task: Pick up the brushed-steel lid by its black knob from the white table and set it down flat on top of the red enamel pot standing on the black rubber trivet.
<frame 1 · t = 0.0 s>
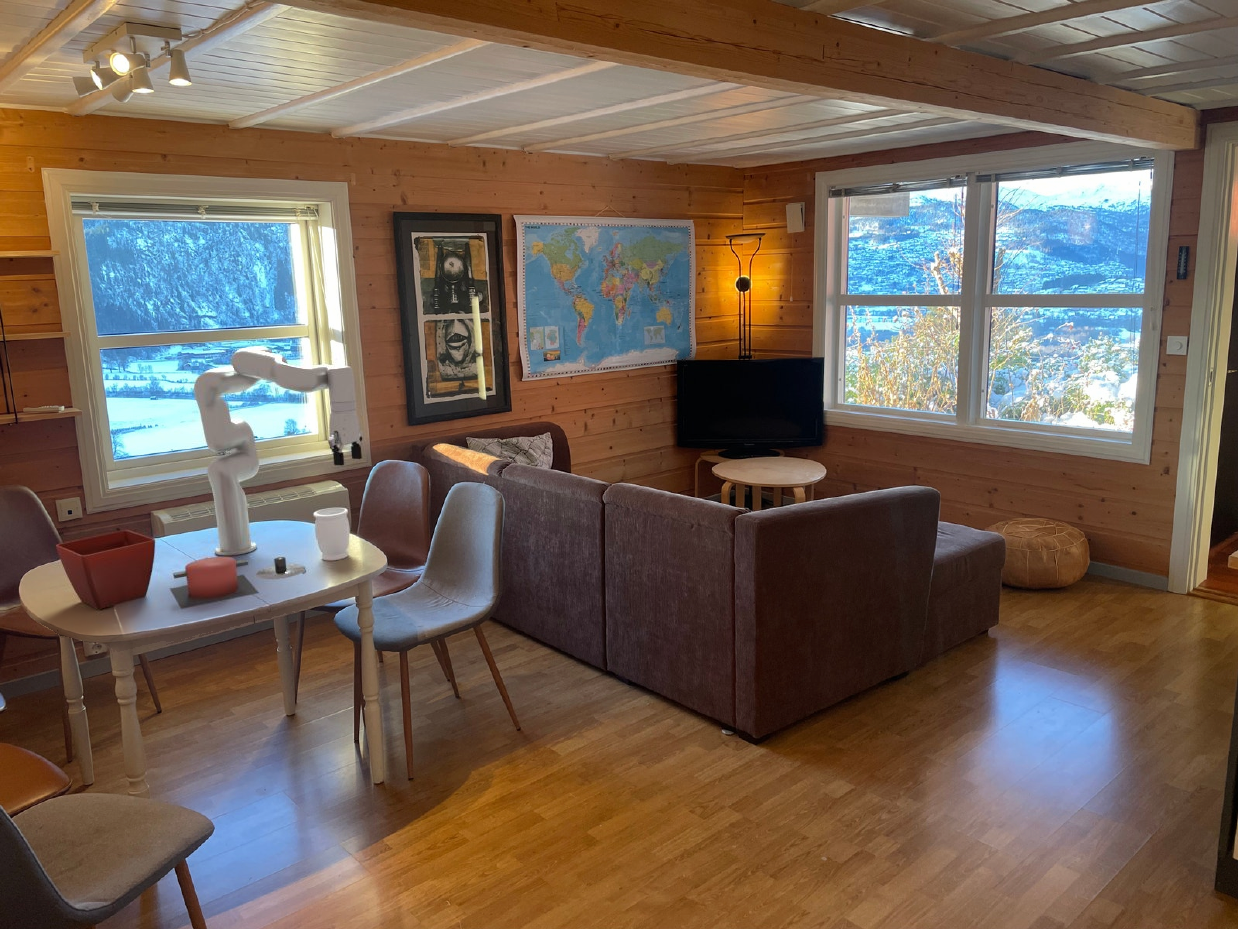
hand: (348, 461, 278), 31 cm above the table, tool pointing down, fingers open, 9 cm apart
jar: (335, 557, 287), on the table
plant pot: (114, 600, 254), on the table
lid: (281, 574, 273), on the table
trivet: (214, 592, 257), on the table
pot: (213, 590, 257), resting on trivet
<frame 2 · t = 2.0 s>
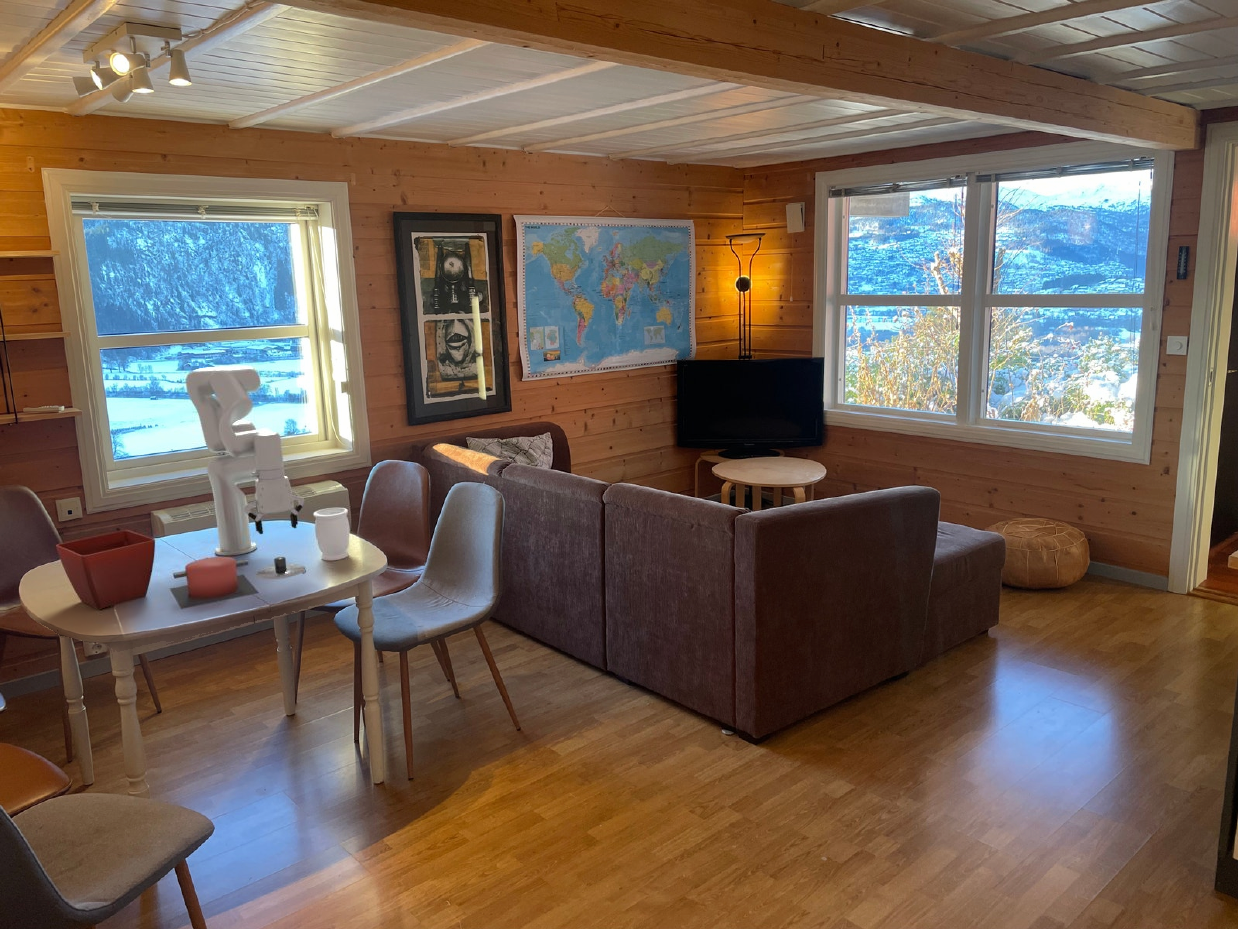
hand: (277, 530, 269), 14 cm above the table, tool pointing down, fingers open, 9 cm apart
nothing on the table moved.
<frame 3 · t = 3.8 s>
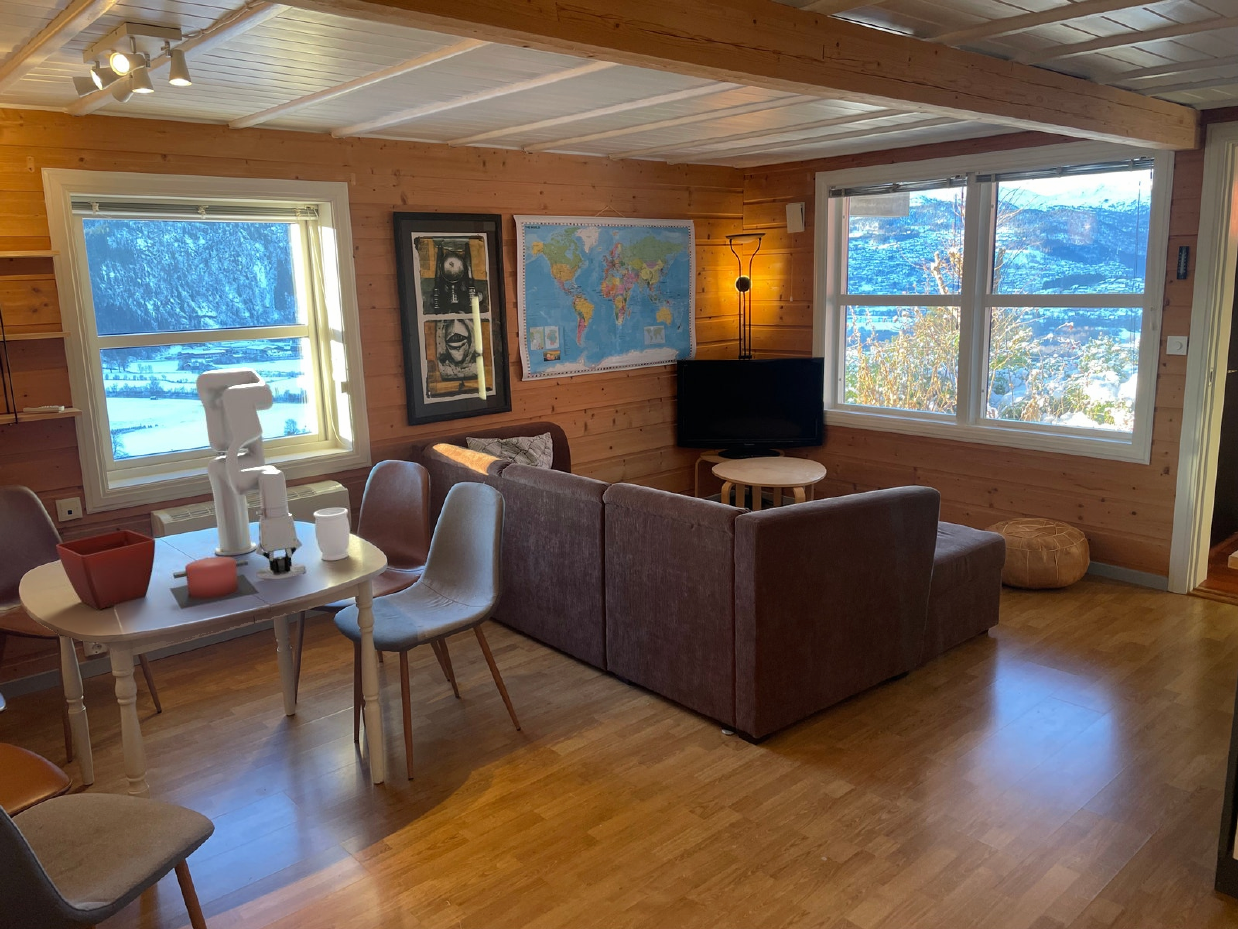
hand: (281, 570, 272), 1 cm above the table, tool pointing down, fingers closed on lid, 3 cm apart
lid: (281, 573, 273), on the table, touching gripper
everything else where it was.
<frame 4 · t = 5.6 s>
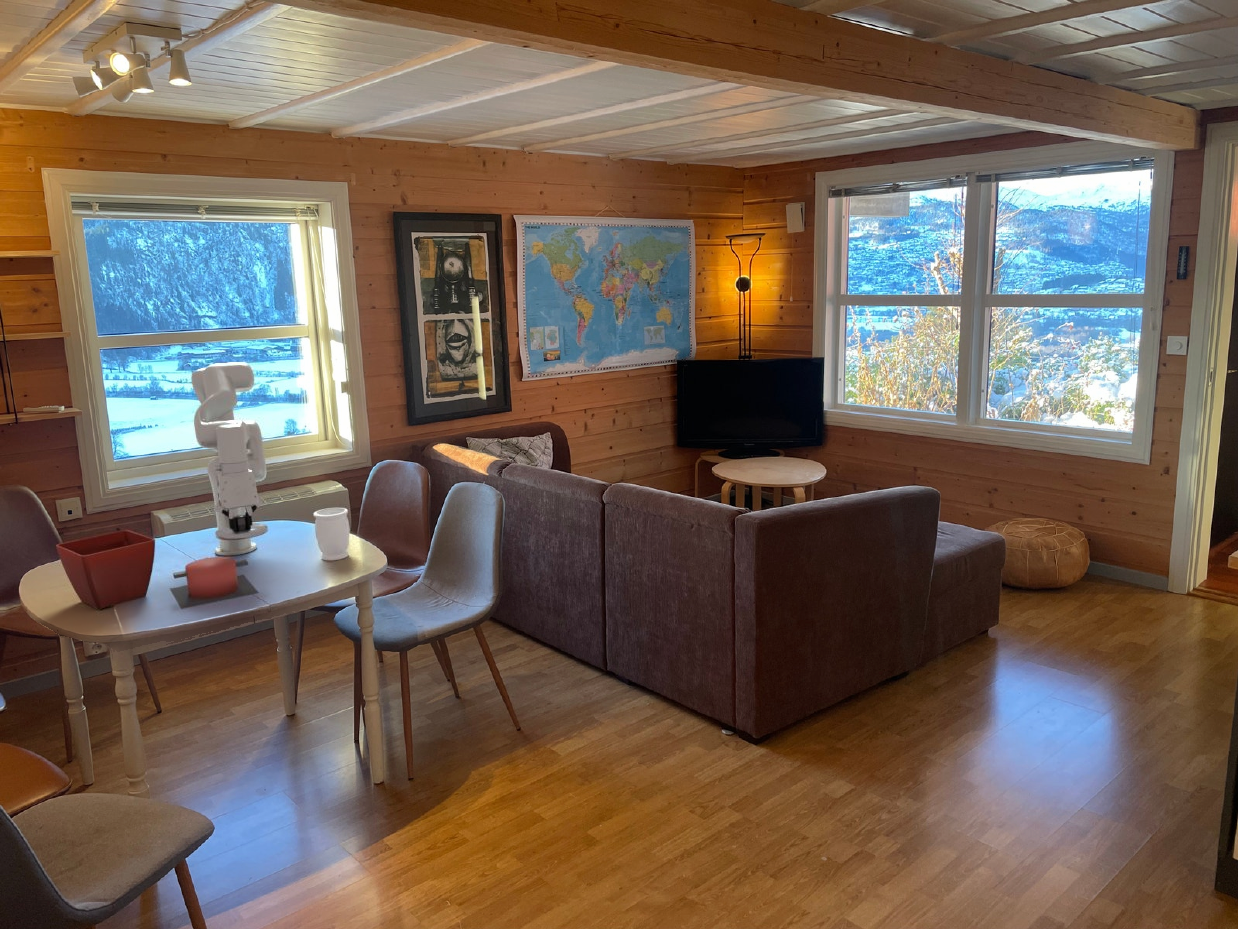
hand: (241, 529, 261), 16 cm above the table, tool pointing down, fingers closed on lid, 3 cm apart
lid: (242, 533, 261), point 15 cm above the table, touching gripper
everything else where it was.
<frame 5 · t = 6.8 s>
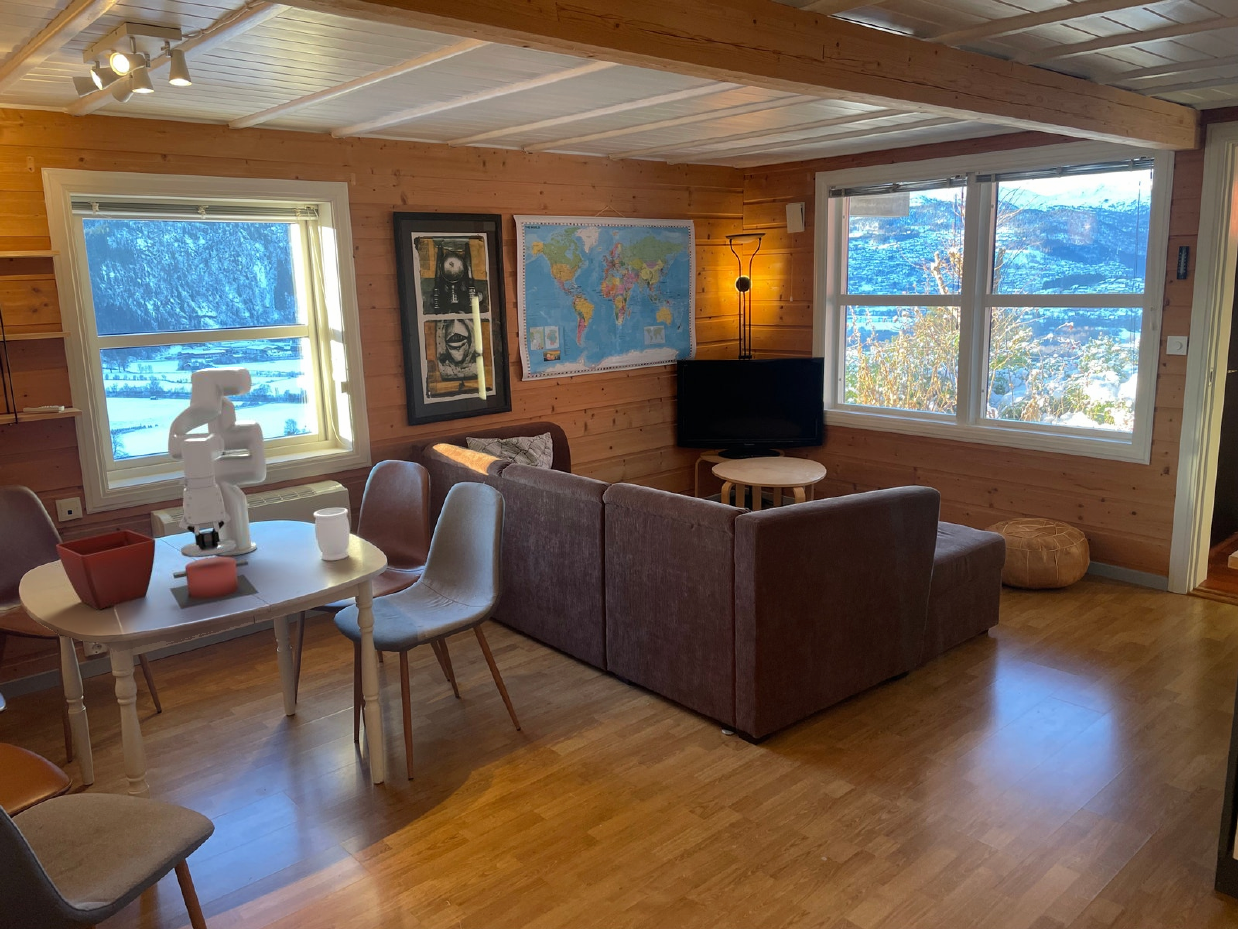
hand: (208, 545, 254), 14 cm above the table, tool pointing down, fingers closed on lid, 3 cm apart
lid: (208, 549, 254), point 13 cm above the table, touching gripper
everything else where it was.
when the fingers open (11 cm above the table, at t = 7.6 s): lid stays where it is, resting on pot.
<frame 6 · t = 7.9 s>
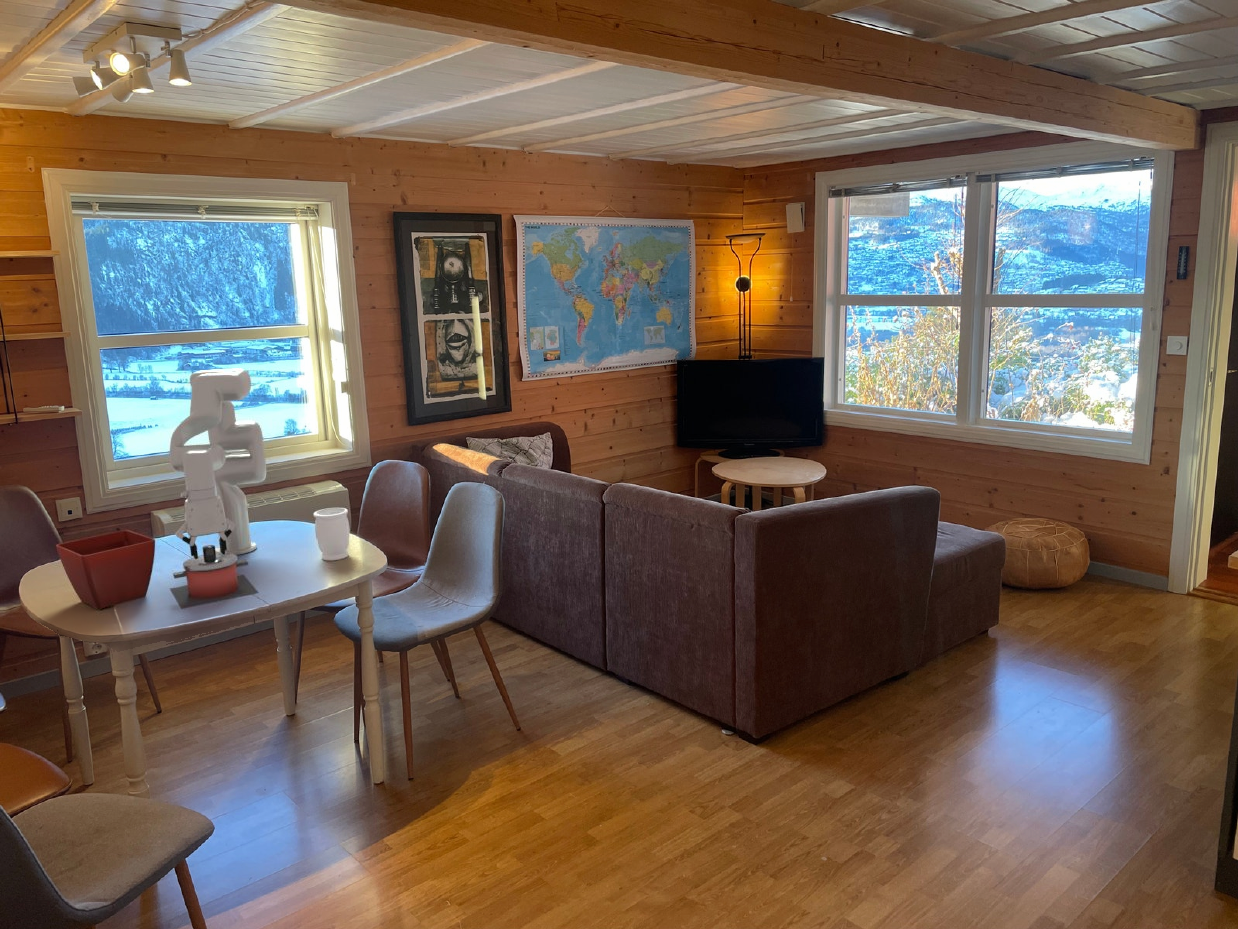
hand: (209, 555, 255), 11 cm above the table, tool pointing down, fingers open, 6 cm apart
lid: (210, 563, 255), point 9 cm above the table, touching pot
everything else where it was.
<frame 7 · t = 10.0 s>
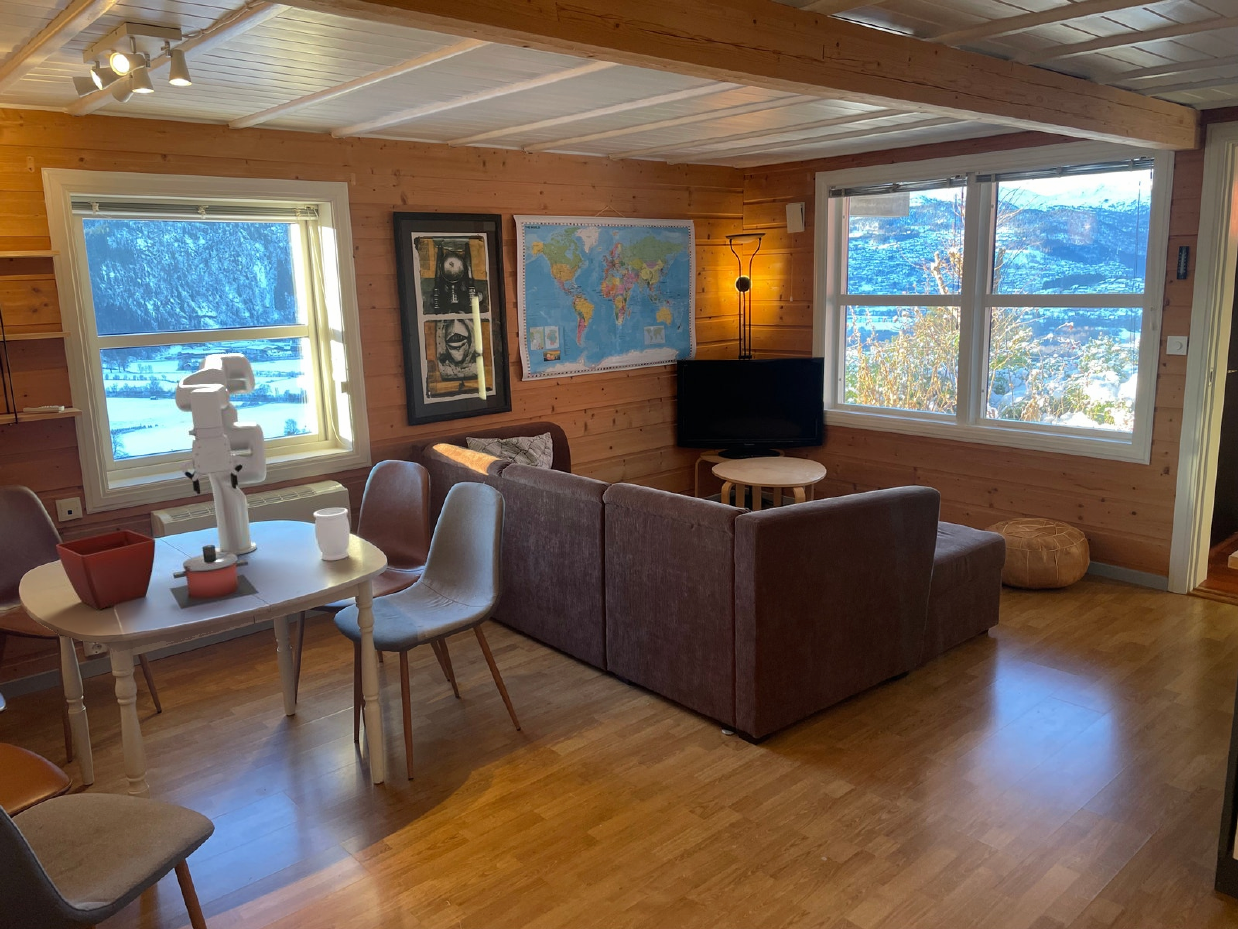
hand: (216, 490, 261), 28 cm above the table, tool pointing down, fingers open, 9 cm apart
nothing on the table moved.
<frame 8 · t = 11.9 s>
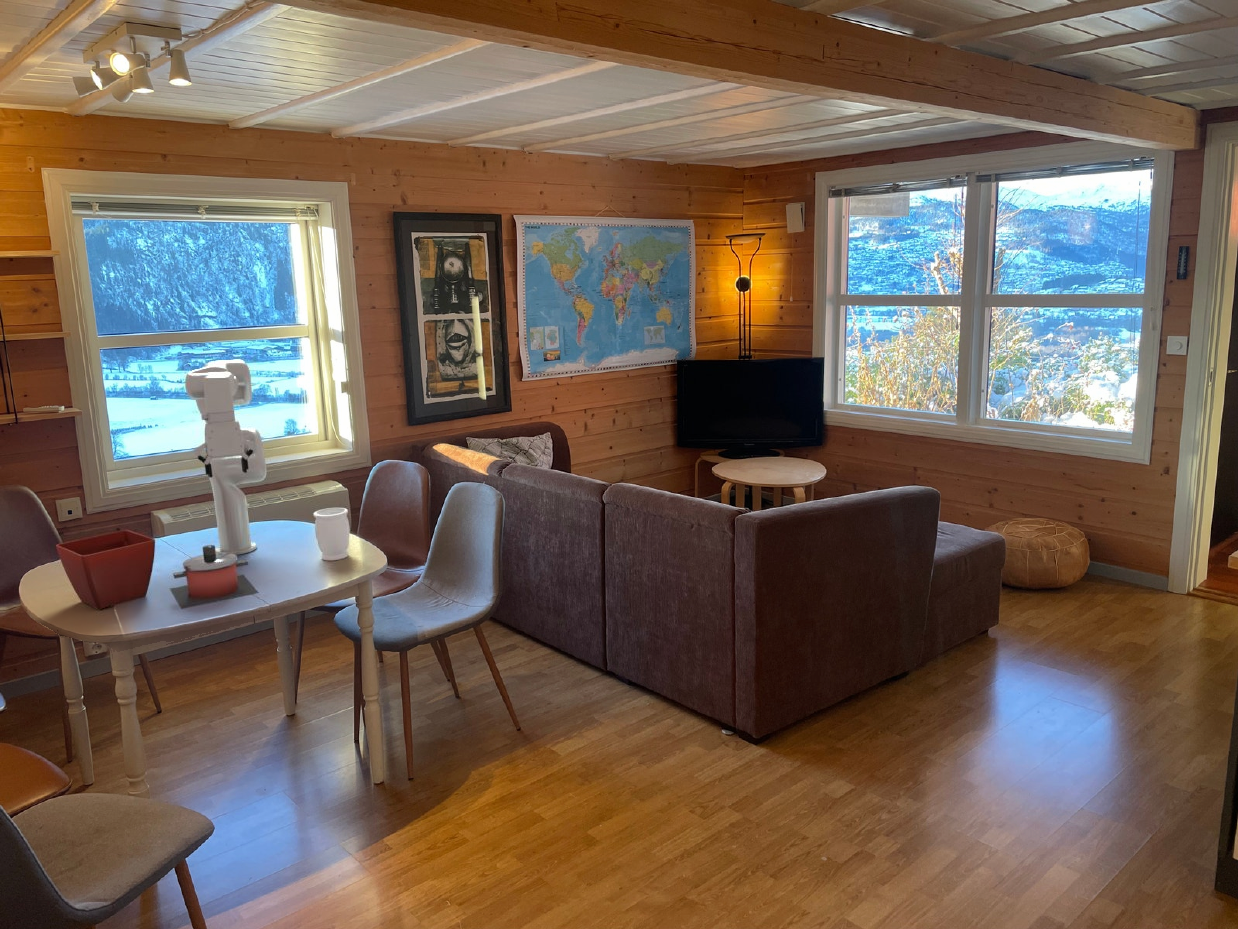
hand: (227, 474, 269), 30 cm above the table, tool pointing down, fingers open, 9 cm apart
nothing on the table moved.
at the end: lid 0.1 cm off-centre on the pot, point 8.0 cm above the pot's base; lid tilted 0°; the gripper is holding nothing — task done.
